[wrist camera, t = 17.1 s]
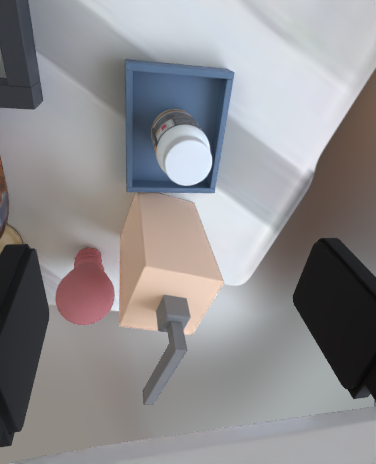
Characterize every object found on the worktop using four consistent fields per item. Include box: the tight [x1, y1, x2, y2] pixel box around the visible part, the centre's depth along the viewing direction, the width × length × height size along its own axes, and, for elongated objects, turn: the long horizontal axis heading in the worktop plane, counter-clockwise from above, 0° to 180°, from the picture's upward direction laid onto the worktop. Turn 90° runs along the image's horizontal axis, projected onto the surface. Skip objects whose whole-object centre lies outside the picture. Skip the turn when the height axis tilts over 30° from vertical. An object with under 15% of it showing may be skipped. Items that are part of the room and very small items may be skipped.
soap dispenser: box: [119, 192, 224, 405], centre depth 37 cm, size 13×9×22 cm
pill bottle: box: [151, 109, 212, 186], centre depth 34 cm, size 6×6×10 cm
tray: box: [125, 60, 234, 193], centre depth 37 cm, size 14×11×3 cm
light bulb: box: [56, 248, 115, 325], centre depth 42 cm, size 7×7×12 cm
